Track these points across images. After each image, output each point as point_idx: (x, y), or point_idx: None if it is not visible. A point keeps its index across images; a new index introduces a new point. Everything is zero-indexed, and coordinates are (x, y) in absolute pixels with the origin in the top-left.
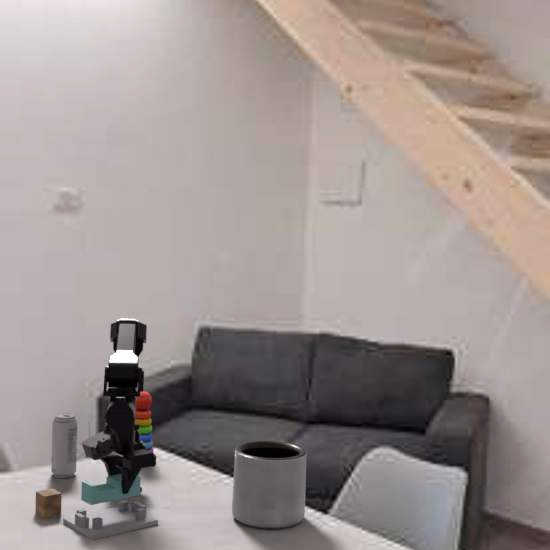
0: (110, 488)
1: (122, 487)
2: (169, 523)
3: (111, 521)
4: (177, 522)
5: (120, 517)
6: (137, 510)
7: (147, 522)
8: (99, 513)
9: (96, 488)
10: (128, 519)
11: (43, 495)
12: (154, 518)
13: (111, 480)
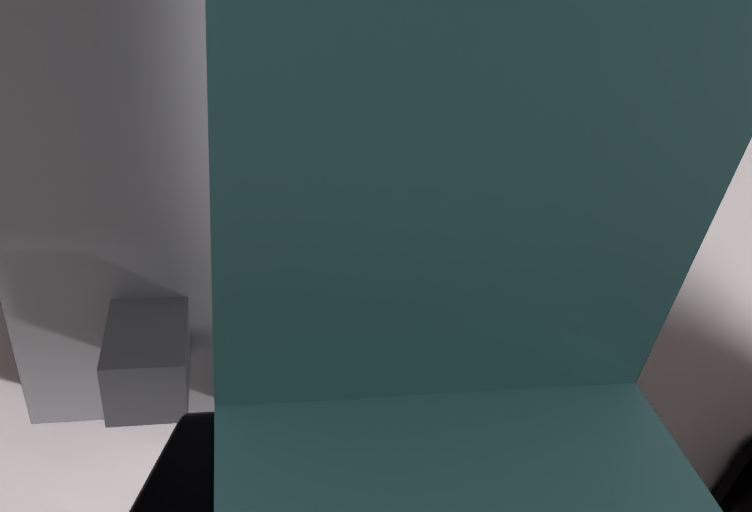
0: (292, 305)
1: (184, 506)
2: (19, 457)
3: None
4: (12, 501)
5: None
6: (142, 364)
7: (8, 329)
8: None
9: (567, 1)
10: (195, 232)
11: None
12: (83, 414)
13: (483, 504)
